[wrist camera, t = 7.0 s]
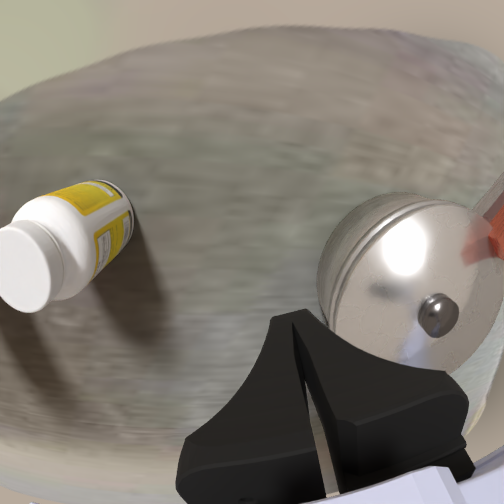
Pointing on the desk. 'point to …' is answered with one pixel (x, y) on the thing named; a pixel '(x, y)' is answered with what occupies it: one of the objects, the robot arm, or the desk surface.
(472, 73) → the desk surface
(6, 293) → the supplement bottle
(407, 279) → the lid
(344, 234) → the pot
